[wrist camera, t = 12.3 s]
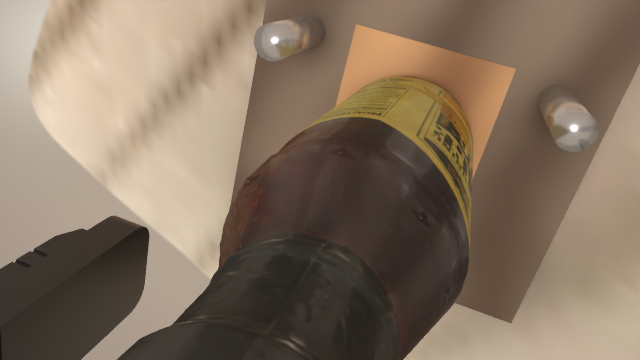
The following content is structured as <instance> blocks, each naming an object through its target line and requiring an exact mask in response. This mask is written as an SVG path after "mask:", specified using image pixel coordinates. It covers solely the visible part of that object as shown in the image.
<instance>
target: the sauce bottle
mask: <svg viewBox="0 0 640 360" xmlns="http://www.w3.org/2000/svg"><path fill="white" fill-rule="evenodd" d="M472 177H473V135H472V131H471V126H470V123H469V121H468V119H467V117H466V115H465V113H464V111H463V110H462V108H461V107H460V105H459V103H458V102H457V101H456V99H454V98H452V97H451V96H450V95H449V94H448V93H447V92H446V91H444V90H443V89H442V88H440V87H438V86H437V85H435V84H433V83H430V82H428V81H425V80H422V79H419V78H416V77H413V76H403V77H388V78H382V79H378V80H376V81H374V82H372V83H370V84H368V85H367V86H365V87H363V88H362V89H360V90H359V91H357V92H356V93H354V94H353V95H351V96H350V97H348V98H347V99H346V100H344V101H343V102H341V103H340V104H339V105H337V106H336V107H334V108H333V109H331V110H330V111H329V112H327V113H326V114H324V115H323V116H321V117H320V118H318V119H317V120H316V121H314V122H313V123H312V124H310V125H309V126H308V127H306V128H305V129H303V130H302V131H301V132H299V133H298V134H296V135H295V136H293V137H292V138H291V139H290V140H289V141H288V142H287V143H286V144H285V145H284V146H283V147H282V148H281V149H280V150H279V151H278V153H277V154H274V155H271V156H270V157H269V158H268V159H267V160H266V161H265V162H264V163H263V164H261V165H260V166H259V168H258V169H256V170H255V172H254V173H253V174H252V175H250V176H249V177H247V178H246V179H245V181H244V183H243V185H242V187H241V189H239V191H238V193H237V195H236V197H235V199H234V201H233V203H232V204H231V206H230V210H229V213H228V215H227V217H226V220H225V224H224V227H223V234H222V239H221V242H220V259H219V268H218V270H217V272H216V273H215V274H214V276H213V277H212V279H211V282H210V284H209V286H208V287H207V288H206V290H205V291H204V292H203V293H202V294H201V295H200V296H199V297H198V298H197V299H196V300H195V301H194V303H192V304H191V305H190V306H189V307H188V308H187V309H186V310H185V311H184V313H183V314H182V315H181V316H180V317H179V318H178V319H177V320H176V321H175V322H174V323H173V324H172V325H171V326H169V327H166V328H164V329H161V330H158V331H156V332H154V333H151V334H149V335H147V336H145V337H143V338H141V339H139V340H138V341H137V342H136V343H135V344H134V345H132V347H130V348H129V349H128V350H127V351H126V352H125V353H124V354H122V355H121V356H120V357H119V358H118V359H117V360H403V359H404V358H405V357H406V356H407V355H408V354H409V353H410V352H411V350H412V349H413V348H414V347H415V346H416V345H417V344H418V343H419V342H420V341H421V339H422V338H423V337H424V336H425V335H426V334H427V333H428V332H429V331H430V330H431V328H432V327H433V326H434V325H435V324H436V323H437V322H438V321H439V320H440V319H441V317H442V316H443V315H444V314H445V313H446V312H447V311H448V310H449V309H450V308H451V306H452V305H453V304H454V303H455V301H456V299H457V298H458V296H459V295H460V293H461V291H462V288H463V285H464V283H465V280H466V277H467V274H468V267H469V258H470V238H471V206H472Z"/></svg>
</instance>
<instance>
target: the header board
mask: <svg viewBox="0 0 640 360" xmlns="http://www.w3.org/2000/svg"><path fill="white" fill-rule="evenodd" d="M307 15H313V16H316V17H318V18H319V19H320V20H321V21H322V22H323V24H324V27H325V36H324V38H323V40H322V41H321V43H319V44H318V45H316V46H314V47H311V48H308V49H306V50H303V51H301V52H298V53H296V54H293V55H291V56H288V57H285V58H283V59H280V60H278V61H268V60H265V59H263V58H262V57H261V56H260V55H259V54H257V59H256V65H255V71H254V76H253V82H252V88H251V93H250V99H249V105H248V110H247V116H246V122H245V127H244V133H243V139H242V144H241V150H240V156H239V161H238V167H237V173H236V178H235V184H234V189H233V195H232V201H231V204H232V203H233V201H234V199H235V197H236V195H237V193H238V191H239V189H241V187H242V185H243V183H244V181H245V179H246V178H247V177H249V176H250V175H252V174H253V173H254V172H255V170H256V169H258V168H259V166H260V165H261V164H263V163H264V162H265V161H266V160H267V159H268V158H269V157H270V156H271V155H274V154H277V153H278V151H279V150H280V149H281V148H282V147H283V146H284V145H285V144H286V143H287V142H288V141H289V140H290V139H291V138H292V137H293V136H295V135H296V134H298V133H299V132H301V131H302V130H303V129H305V128H306V127H308V126H309V125H310V124H312V123H313V122H314V121H316V120H317V119H318V118H320V117H321V116H323V115H324V114H326V113H327V112H329V111H330V110H331V109H333V108H334V107H336V106H337V105H339V104H340V103H341V102H343V101H344V100H346V99H347V98H348V97H350V96H351V95H353V94H354V93H356V92H357V91H359V90H360V89H362V88H363V87H365V86H367V85H368V84H370V83H372V82H374V81H376V80H378V79H382V78H388V77H403V76H413V77H416V78H419V79H422V80H425V81H428V82H430V83H433V84H435V85H437V86H438V87H440V88H442V89H443V90H444V91H446V92H447V93H448V94H449V95H450V96H451V97H452V98H454V99H456V101H457V102H458V103H459V105H460V107H461V108H462V110H463V111H464V113H465V115H466V117H467V119H468V121H469V123H470V126H471V131H472V135H473V177H472V206H471V238H470V258H469V267H468V274H467V277H466V280H465V283H464V285H463V288H462V291H461V293H460V295H459V296H458V298H457V299H456V301H455V303H457V304H460V305H462V306H465V307H468V308H471V309H473V310H476V311H479V312H482V313H484V314H487V315H490V316H493V317H495V318H498V319H501V320H504V321H506V322H509V323H511V322H512V320H513V318H514V316H515V314H516V312H517V310H518V308H519V306H520V304H521V302H522V300H523V298H524V296H525V294H526V292H527V290H528V288H529V286H530V284H531V282H532V280H533V278H534V276H535V274H536V272H537V270H538V268H539V266H540V264H541V262H542V260H543V258H544V256H545V254H546V252H547V250H548V248H549V246H550V244H551V242H552V239H553V237H554V235H555V233H556V231H557V229H558V227H559V225H560V223H561V221H562V219H563V217H564V215H565V213H566V211H567V209H568V207H569V205H570V203H571V201H572V199H573V197H574V195H575V193H576V191H577V189H578V187H579V185H580V183H581V181H582V179H583V177H584V175H585V173H586V171H587V169H588V167H589V165H590V163H591V161H592V159H593V157H594V155H595V153H596V151H597V149H598V147H599V145H600V142H601V140H602V138H603V136H604V134H605V132H606V130H607V128H608V126H609V124H610V122H611V120H612V118H613V116H614V114H615V112H616V110H617V108H618V106H619V104H620V102H621V100H622V98H623V96H624V94H625V92H626V90H627V88H628V86H629V84H630V82H631V80H632V78H633V76H634V74H635V72H636V70H637V68H638V66H639V64H640V0H267V3H266V8H265V14H264V20H263V25H264V24H267V23H272V22H277V21H282V20H287V19H292V18H297V17H302V16H307ZM553 85H562V86H565V87H567V88H568V89H569V90H570V91H571V92H572V93H573V94H574V95H575V97H576V98H577V99H578V100H579V101H580V103H581V104H582V105H583V106H584V107H585V109H586V110H587V111H588V112H589V113H590V115H591V116H592V117H593V118H594V119H595V121H596V122H597V124H598V129H599V131H598V136H597V139H596V140H595V142H594V143H593V144H592V145H591V146H590V147H588V148H587V149H585V150H582V151H579V152H569V151H566V150H563V149H561V148H560V147H559V146H558V145H557V144H556V142H555V141H554V139H553V136H552V134H551V132H550V130H549V128H548V126H547V124H546V122H545V120H544V118H543V115H542V113H541V111H540V109H539V107H538V99H539V96H540V94H541V93H542V92H543V91H544V90H545V89H546V88H548V87H550V86H553Z"/></svg>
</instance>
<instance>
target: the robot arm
mask: <svg viewBox="0 0 640 360" xmlns="http://www.w3.org/2000/svg"><path fill="white" fill-rule="evenodd" d="M148 244H149V232H148V229H147V228H146V227H143V226H141V225H138V224H136V223H133V222H130V221H127V220H125V219H122V218H120V217H117V216H110V217H108V218H107V219H105V220H103V221H102V222H100V223H98V224H97V225H95V226H94V227H92V228H91V229H89V230H85V229H79V230H75V231H72V232H68V233H65V234H61V235H58V236H55V237H53V238H52V239H50V240H48V241H46V242H45V243H43V244H41V245H40V246H38V247H36V248H35V249H34V251H33V252H31V251H30V252H28V253H26V254H25V255H23V256H21V257H20V258H18V259H17V260H16V262H15V263H13V262H11V263H9V264H8V265H6V266H4V267H3V268H1V269H0V360H81V359H82V358H83V357H84V356H85V355H86V354H87V353H88V352H89V351H90V350H92V349H93V348H94V347H95V346H96V345H97V344H98V343H99V342H100V341H101V340H102V339H103V338H104V337H106V336H107V335H108V334H109V333H110V332H111V331H112V330H113V329H114V328H115V327H116V326H117V325H118V324H119V323H120V322H122V321H123V319H125V318H126V317H127V316H128V315H129V314H130V313H131V312H132V311H133V309H134V308H135V306H136V305H137V303H138V302H139V300H140V297H141V295H142V292H143V289H144V284H145V274H146V265H147V254H148Z"/></svg>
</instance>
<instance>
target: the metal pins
mask: <svg viewBox="0 0 640 360" xmlns="http://www.w3.org/2000/svg"><path fill="white" fill-rule="evenodd" d="M324 36H325V27H324V24H323V22H322V21H321V20H320V19H319V18H318V17H316V16H313V15H307V16H302V17H297V18H292V19H287V20H282V21H277V22H272V23H267V24H264V25H262V26H261V27H260V28H259V29H258V30H257V32H256V34H255V37H254V45H255V48H256V51H257V52H258V54H259V55H260V56H261V57H262V58H263V59H265V60H268V61H278V60H280V59H283V58H285V57H288V56H291V55H293V54H296V53H298V52H301V51H303V50H306V49H308V48H311V47H314V46H316V45H318V44H319V43H321V41H322V40H323V38H324ZM538 107H539V109H540V111H541V113H542V115H543V118H544V120H545V122H546V124H547V126H548V128H549V130H550V132H551V134H552V136H553V139H554V141H555V142H556V144H557V145H558V146H559V147H560V148H561V149H563V150H566V151H569V152H579V151H582V150H585V149H587V148H588V147H590V146H591V145H592V144H593V143H594V142H595V140H596V139H597V136H598V131H599V129H598V124H597V122H596V121H595V119H594V118H593V117H592V116H591V115H590V113H589V112H588V111H587V110H586V109H585V107H584V106H583V105H582V104H581V103H580V101H579V100H578V99H577V98H576V97H575V95H574V94H573V93H572V92H571V91H570V90H569V89H568V88H567V87H565V86H562V85H553V86H550V87H548V88H546V89H545V90H544V91H543V92H542V93H541V94H540V96H539V99H538Z"/></svg>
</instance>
